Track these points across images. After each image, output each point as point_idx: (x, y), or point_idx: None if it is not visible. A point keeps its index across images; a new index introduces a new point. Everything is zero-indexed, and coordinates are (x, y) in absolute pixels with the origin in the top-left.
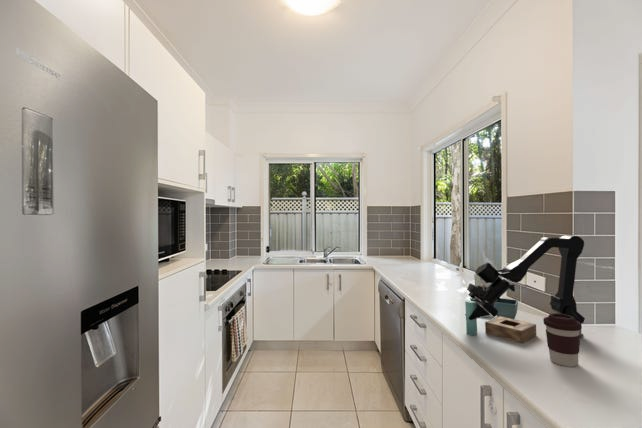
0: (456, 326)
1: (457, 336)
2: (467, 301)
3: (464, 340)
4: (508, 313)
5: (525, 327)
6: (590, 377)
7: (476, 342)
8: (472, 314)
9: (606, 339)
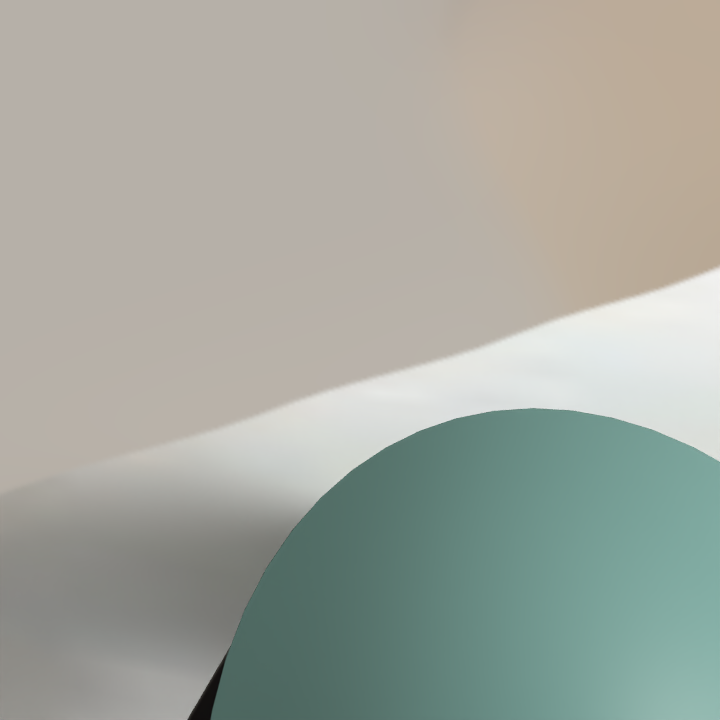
0: (638, 425)
1: (277, 408)
2: (699, 560)
3: (159, 472)
4: None
5: None
6: None
7: (103, 612)
8: (223, 659)
9: None
